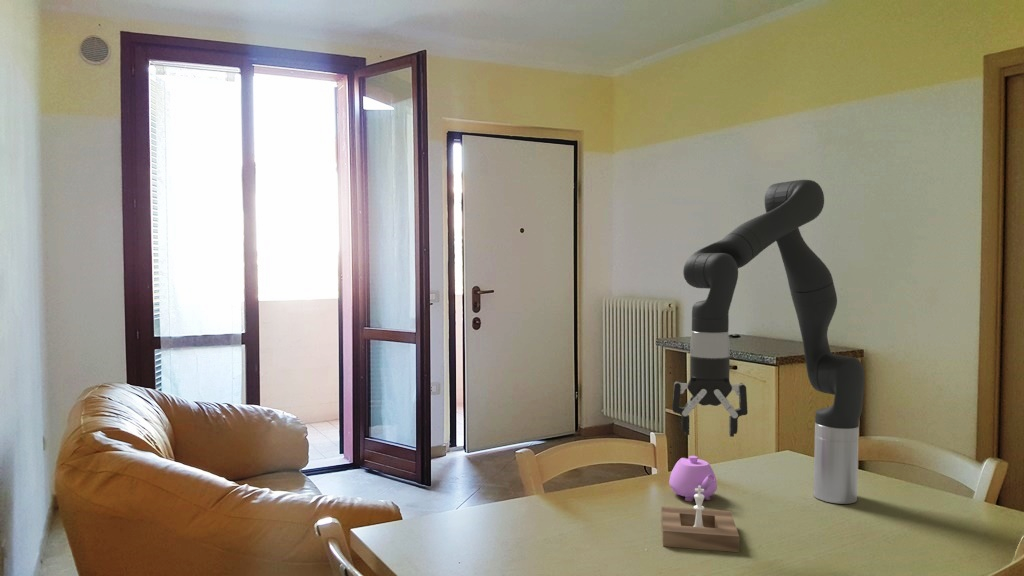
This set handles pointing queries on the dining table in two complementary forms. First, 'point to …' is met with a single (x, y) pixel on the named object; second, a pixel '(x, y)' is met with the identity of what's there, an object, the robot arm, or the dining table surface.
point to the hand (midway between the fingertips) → (709, 435)
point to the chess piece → (699, 507)
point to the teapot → (693, 478)
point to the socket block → (699, 529)
